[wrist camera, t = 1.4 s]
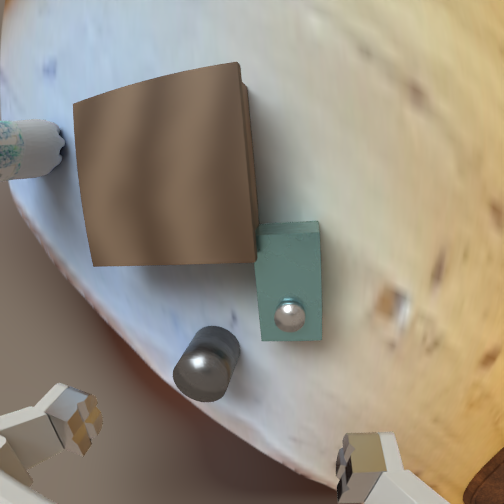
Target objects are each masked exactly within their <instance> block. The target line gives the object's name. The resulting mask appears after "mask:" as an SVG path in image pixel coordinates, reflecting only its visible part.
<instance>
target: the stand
mask: <svg viewBox="0 0 504 504" xmlns="http://www.w3.org/2000/svg"><path fill="white" fill-rule="evenodd" d="M73 117H74V134H75V148H76V159H77V169H78V177H79V186H80V193H81V200H82V207H83V214H84V220H85V226H86V231H87V237H88V242H89V247H90V252H91V257H92V262H93V267H98V266H145V265H185V264H221V263H254V262H256V260H257V258H258V257H257V245H256V234H255V230H256V229H257V227H258V226H259V215H258V203H257V192H256V180H255V169H254V158H253V147H252V136H251V125H250V114H249V103H248V93H247V86H246V85H245V84H244V83H243V82H242V79H241V68H240V65H239V63H238V62H232V63H226V64H220V65H214V66H208V67H203V68H198V69H193V70H188V71H183V72H179V73H174V74H170V75H166V76H162V77H158V78H154V79H150V80H146V81H142V82H139V83H135V84H132V85H128V86H125V87H122V88H118V89H115V90H112V91H109V92H106V93H103V94H100V95H97V96H94V97H91V98H88V99H85V100H83V101H80V102H77V103H74V104H73Z"/></svg>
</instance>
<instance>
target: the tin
mask: <svg viewBox="0 0 504 504" xmlns="http://www.w3.org/2000/svg"><path fill="white" fill-rule="evenodd" d="M239 354H240V345H239V342H238V340H237V339H236V337H235V336H234V335H233V334H232V333H231V332H229V331H228V330H226V329H224V328H221V327H217V326H207V327H204V328H202V329H200V330H199V331H198V332H197V333H196V335H195V336H194V338H193V339H192V341H191V343H190V344H189V346H188V347H187V349H186V350H185V352H184V354H183V355H182V357H181V358H180V360H179V361H178V363H177V365H176V366H175V368H174V370H173V379H174V382H175V384H176V386H177V387H178V389H179V390H180V391H181V392H182V393H183V394H185V395H186V396H188V397H189V398H191V399H194V400H197V401H200V402H213V401H216V400H219V399H220V398H221V397H223V395H224V394H225V392H226V389H227V387H228V384H229V381H230V379H231V376H232V373H233V371H234V368H235V365H236V363H237V360H238V357H239Z"/></svg>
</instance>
